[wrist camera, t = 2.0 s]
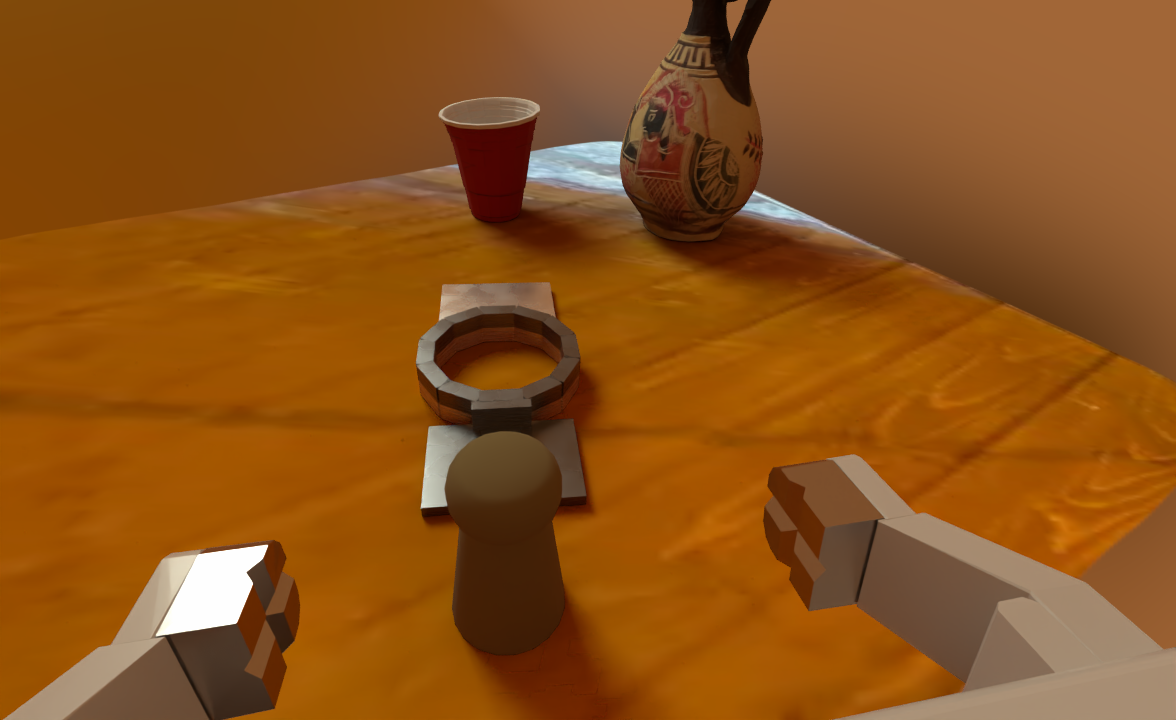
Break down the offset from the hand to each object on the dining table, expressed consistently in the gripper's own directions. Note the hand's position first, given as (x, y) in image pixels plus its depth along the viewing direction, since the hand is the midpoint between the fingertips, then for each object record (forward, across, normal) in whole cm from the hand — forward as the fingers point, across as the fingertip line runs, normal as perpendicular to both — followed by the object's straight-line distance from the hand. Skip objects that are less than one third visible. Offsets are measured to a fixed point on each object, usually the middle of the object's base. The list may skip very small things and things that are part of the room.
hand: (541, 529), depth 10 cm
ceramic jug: (+59, -22, +13) cm, 65 cm away
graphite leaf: (+31, +1, +16) cm, 35 cm away
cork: (+16, +1, +20) cm, 25 cm away
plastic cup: (+65, -1, +10) cm, 66 cm away
